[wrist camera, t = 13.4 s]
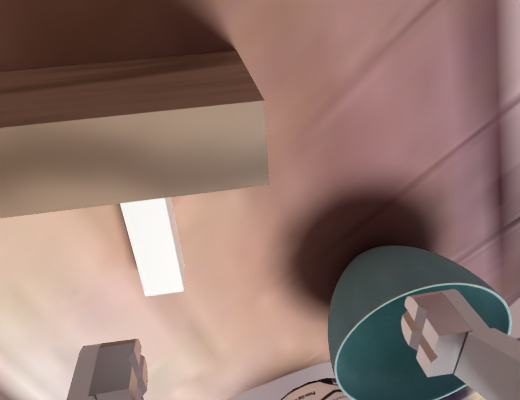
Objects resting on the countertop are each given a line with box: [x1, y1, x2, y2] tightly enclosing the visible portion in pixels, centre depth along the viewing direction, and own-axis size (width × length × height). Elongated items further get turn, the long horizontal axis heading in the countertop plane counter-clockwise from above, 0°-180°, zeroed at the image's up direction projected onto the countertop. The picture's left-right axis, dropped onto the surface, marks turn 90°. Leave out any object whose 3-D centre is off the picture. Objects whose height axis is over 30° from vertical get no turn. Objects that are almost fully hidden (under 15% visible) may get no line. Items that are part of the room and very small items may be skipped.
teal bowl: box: [328, 245, 512, 400], centre depth 45 cm, size 18×18×12 cm
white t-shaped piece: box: [120, 197, 185, 296], centre depth 38 cm, size 17×8×6 cm, turn 4°
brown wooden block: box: [0, 50, 269, 218], centre depth 29 cm, size 8×20×16 cm, turn 94°
